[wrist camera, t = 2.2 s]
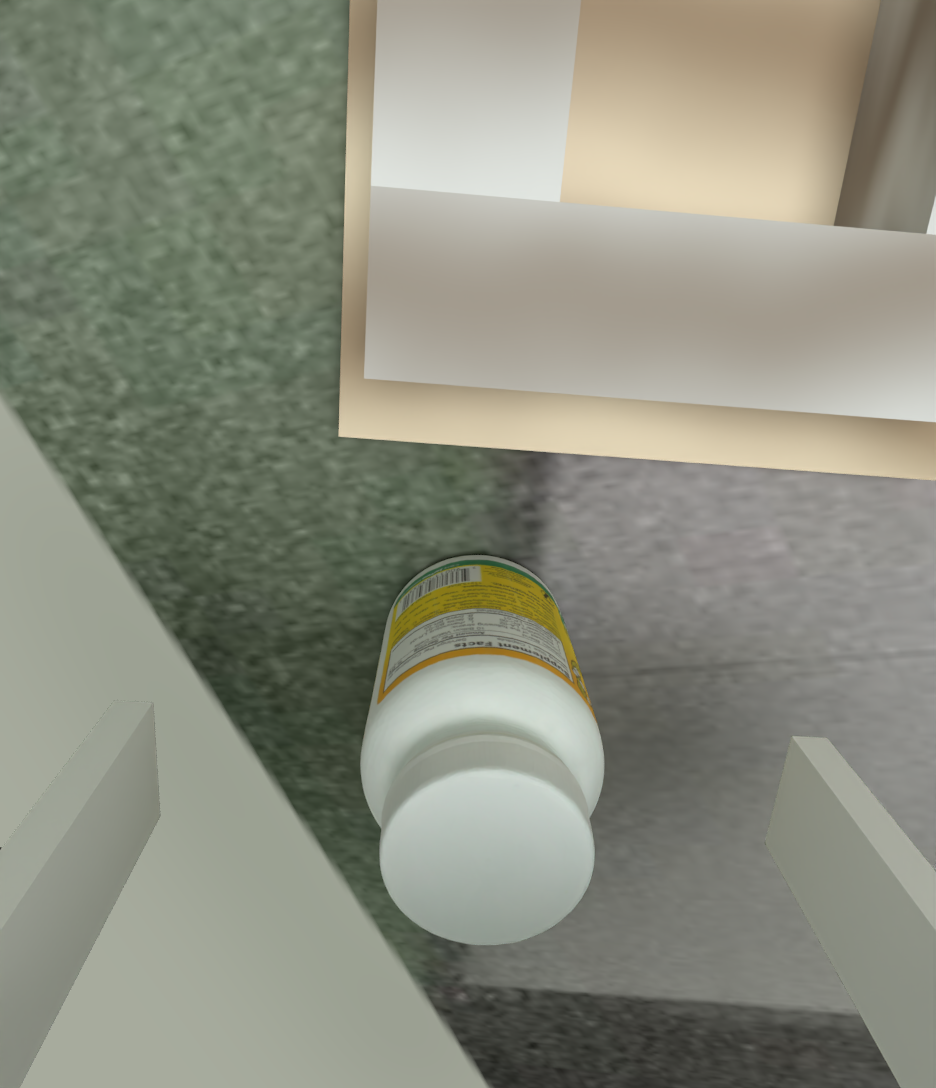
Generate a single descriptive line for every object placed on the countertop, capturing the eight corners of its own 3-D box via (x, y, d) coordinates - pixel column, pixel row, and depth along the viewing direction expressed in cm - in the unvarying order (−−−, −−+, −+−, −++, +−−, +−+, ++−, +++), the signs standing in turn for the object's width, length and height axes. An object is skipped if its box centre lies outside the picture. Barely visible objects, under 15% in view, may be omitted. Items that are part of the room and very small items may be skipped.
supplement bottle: (425, 522, 22) (406, 690, 13) (595, 589, 23) (687, 792, 14) (359, 679, 24) (301, 926, 15) (520, 737, 25) (559, 1006, 15)
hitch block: (918, 468, 22) (1063, 527, 17) (346, 426, 21) (311, 473, 16) (1143, -377, 16) (1469, -688, 11) (372, -472, 16) (331, -850, 10)
